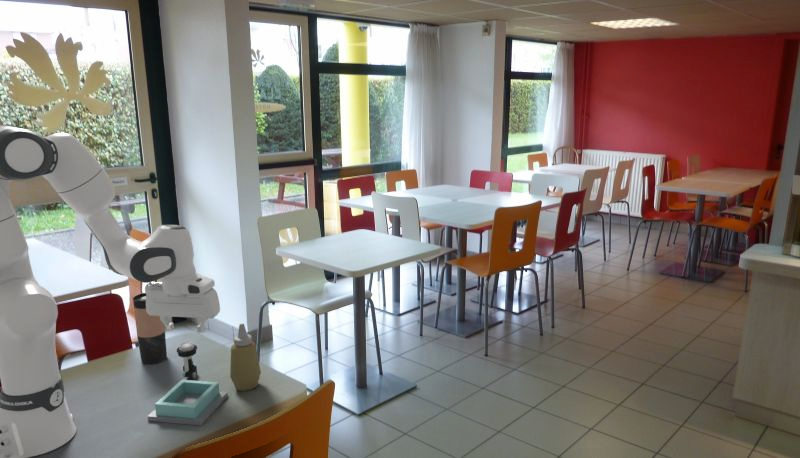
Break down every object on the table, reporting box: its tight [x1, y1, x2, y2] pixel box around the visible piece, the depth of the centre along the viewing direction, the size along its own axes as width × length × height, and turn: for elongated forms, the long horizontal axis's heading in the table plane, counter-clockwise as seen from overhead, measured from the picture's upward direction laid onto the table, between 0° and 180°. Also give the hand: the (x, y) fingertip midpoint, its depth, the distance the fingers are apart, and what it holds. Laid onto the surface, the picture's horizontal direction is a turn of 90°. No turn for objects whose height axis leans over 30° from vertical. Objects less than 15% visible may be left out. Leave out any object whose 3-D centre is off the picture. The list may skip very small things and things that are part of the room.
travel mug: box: [132, 292, 168, 365], centre depth 171 cm, size 8×8×20 cm
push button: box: [176, 341, 198, 380], centre depth 160 cm, size 7×5×10 cm
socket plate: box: [147, 379, 229, 426], centre depth 146 cm, size 14×14×4 cm
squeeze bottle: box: [229, 323, 262, 392], centre depth 155 cm, size 8×8×18 cm
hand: (185, 330), depth 158 cm, fingers open, 8 cm apart
